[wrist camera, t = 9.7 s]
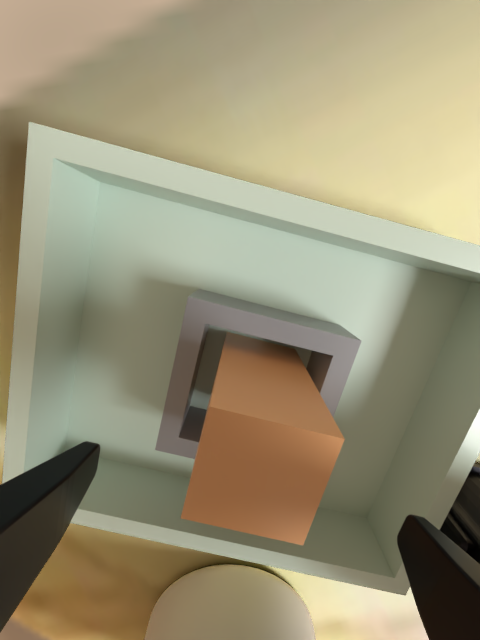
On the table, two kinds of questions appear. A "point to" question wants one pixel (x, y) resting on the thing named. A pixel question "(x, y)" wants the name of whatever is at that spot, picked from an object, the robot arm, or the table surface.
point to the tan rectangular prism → (262, 444)
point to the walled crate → (243, 319)
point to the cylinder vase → (230, 607)
